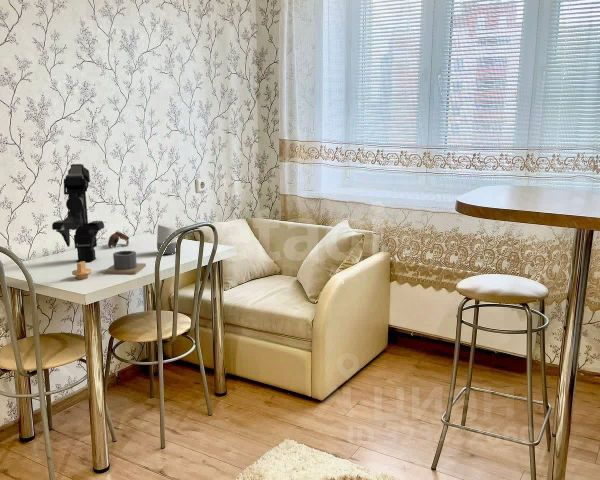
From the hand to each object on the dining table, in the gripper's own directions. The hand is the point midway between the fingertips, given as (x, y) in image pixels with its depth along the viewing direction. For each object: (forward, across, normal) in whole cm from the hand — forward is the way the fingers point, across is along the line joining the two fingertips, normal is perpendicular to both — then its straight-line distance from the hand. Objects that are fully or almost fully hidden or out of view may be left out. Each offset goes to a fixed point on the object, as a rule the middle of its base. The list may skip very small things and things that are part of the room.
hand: (79, 246), depth 235 cm
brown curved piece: (+13, -6, +55) cm, 57 cm away
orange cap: (+13, 0, 0) cm, 13 cm away
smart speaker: (+13, +22, +43) cm, 50 cm away
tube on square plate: (+13, +13, +13) cm, 22 cm away
